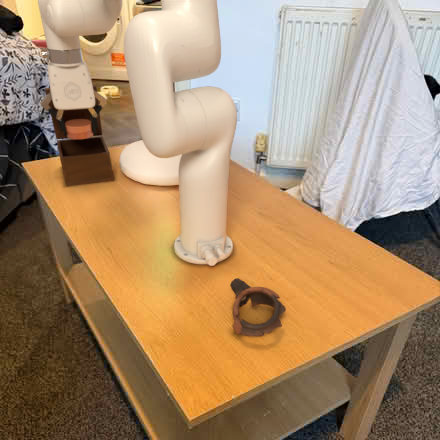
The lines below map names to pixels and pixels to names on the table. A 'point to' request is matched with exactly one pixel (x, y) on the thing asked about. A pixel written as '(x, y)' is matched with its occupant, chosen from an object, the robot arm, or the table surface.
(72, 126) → the orange short cylinder
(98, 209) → the table surface
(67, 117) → the lid
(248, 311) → the table surface
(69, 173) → the chest
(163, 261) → the table surface
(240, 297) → the pottery mug
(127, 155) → the plate
